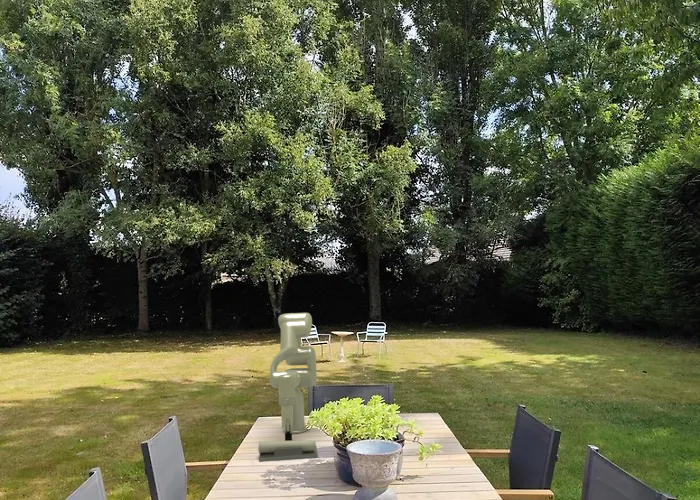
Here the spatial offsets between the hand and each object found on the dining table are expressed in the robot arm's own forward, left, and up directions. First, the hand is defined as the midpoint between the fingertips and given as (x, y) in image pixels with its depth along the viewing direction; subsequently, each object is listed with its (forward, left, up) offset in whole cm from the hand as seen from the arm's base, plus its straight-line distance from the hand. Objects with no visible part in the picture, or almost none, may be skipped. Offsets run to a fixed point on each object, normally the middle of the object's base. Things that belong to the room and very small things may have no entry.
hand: (288, 442), depth 258 cm
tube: (+9, 0, -2) cm, 10 cm away
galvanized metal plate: (+9, 0, -3) cm, 10 cm away
